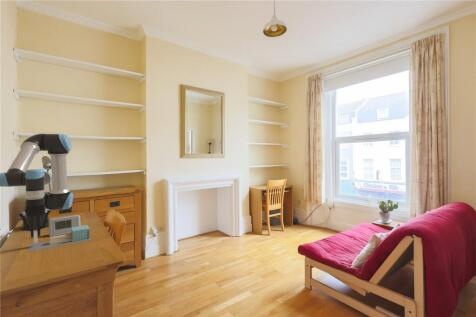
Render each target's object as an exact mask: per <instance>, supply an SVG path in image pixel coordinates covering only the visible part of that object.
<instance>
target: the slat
mask: <svg viewBox="0 0 476 317" xmlns="http://www.w3.org/2000/svg"><path fill="white" fill-rule="evenodd" d="M49 241H50V245H52V244H57V243H63V242H68V241H72V234H71V233H69V234H63V235H58V236H52V237H49Z"/></svg>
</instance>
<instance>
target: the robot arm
mask: <svg viewBox="0 0 476 317" xmlns="http://www.w3.org/2000/svg"><path fill="white" fill-rule="evenodd" d="M71 142H72V141H71V138H70V137H69V135H68V134H61V133H36V134H34V135H31V136H29V137H28V138H26V139H25V140H24V141H22V143H21V144H20V146H19V147H20V150H19V152H18V153H17V155H16V157H15V159H14V160H13V161H12V163H11V165H10V166H9V168H8V170H7V171H6V172H0V188H1V187H3V188H4V187H8V188H9V187H10V188H11V187H25V198H24V199H25V200H24V211H22V212H19V214H18V216H19V217H20V218H21V220H22V223H21V224H22V225H21V230H24V231H25V230H26V231H27V232H28V231H29V232H30V237H31V238H33V244H37V243H39V242H38V240H39V239H38V237H41V230H42V229H45V228H47V227H49V219H50V218H49V214H50V213H51V212H52V211H61V210H62V211H64V210H69V209H70V208H71V207H72V205H73V201H74V193H73V192H71V189H70V188H68V174H67V173H68V171H67V168H68V167H67V156H68V155H69V152H71V151H72V143H71ZM41 151H42V152H46V151H47V155H49V156H50V168H51V173H50V172H47V171H45V170H44V169H42V168H39V169H37V168H33V169H32V168H30V169H29V167H30V165H31V163H32V162H33V159H34V158H35V156H36V155H37V154H39V153H40V152H41ZM50 182H51V183H52V184H51V187H52V189H51V190H50V191H49V193H48V192H47V191H45V185H47V184H49V183H50Z"/></svg>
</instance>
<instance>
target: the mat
mask: <svg viewBox="0 0 476 317" xmlns="http://www.w3.org/2000/svg"><path fill="white" fill-rule="evenodd" d="M90 240H92V239H91V237H90V236H89V239H85V240H80V241H74V242H72V241H68V242H63V243H57V244H52V245H50V240H48V241H44V242H37V243H35V244H34V243H32V244H29V245H28V249H27V252H33V251H40V250H43V249H49V248H54V247H55V248H56V247H60V246H65V245H71V244H76V243H77V244H78V243H82V242H88V241H90Z"/></svg>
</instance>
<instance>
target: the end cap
mask: <svg viewBox="0 0 476 317" xmlns="http://www.w3.org/2000/svg"><path fill="white" fill-rule="evenodd" d="M70 234H72V242H74V241H80V240H85V239H89V237H90V227H89V226H88V224H86V225H81V226H78V227H72V228H71V233H70Z"/></svg>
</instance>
